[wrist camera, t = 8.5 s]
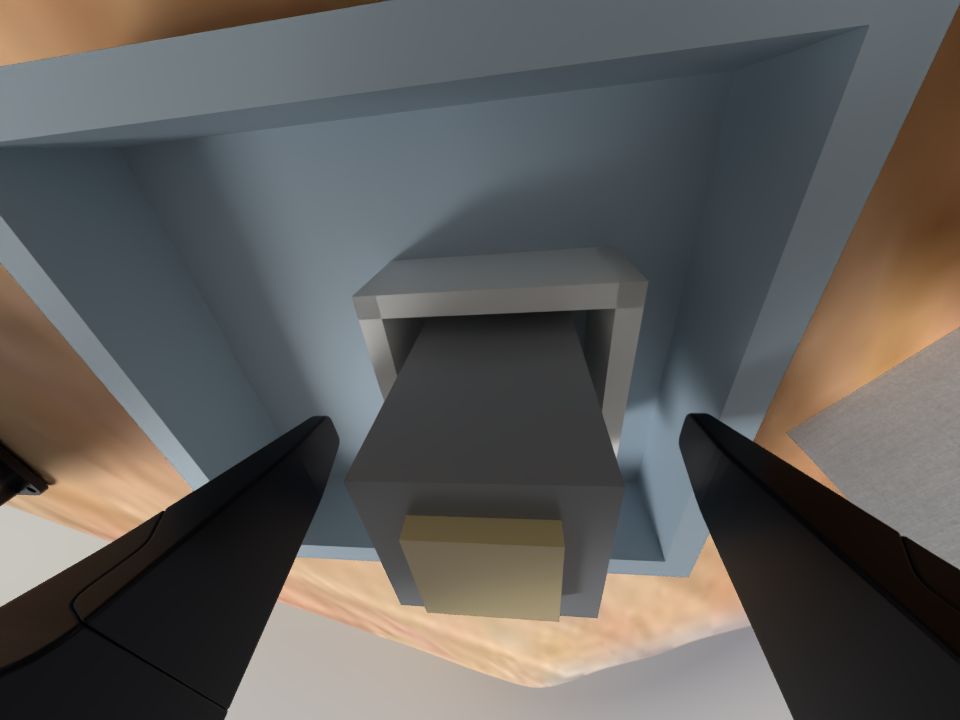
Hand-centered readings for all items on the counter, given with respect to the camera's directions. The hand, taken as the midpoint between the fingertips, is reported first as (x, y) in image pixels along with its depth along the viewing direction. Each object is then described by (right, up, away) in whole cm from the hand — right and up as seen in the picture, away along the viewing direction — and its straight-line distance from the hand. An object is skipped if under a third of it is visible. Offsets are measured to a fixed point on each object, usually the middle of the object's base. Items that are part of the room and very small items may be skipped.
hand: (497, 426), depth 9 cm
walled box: (-2, +2, +4) cm, 5 cm away
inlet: (0, +2, +4) cm, 4 cm away
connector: (0, +2, +3) cm, 4 cm away
